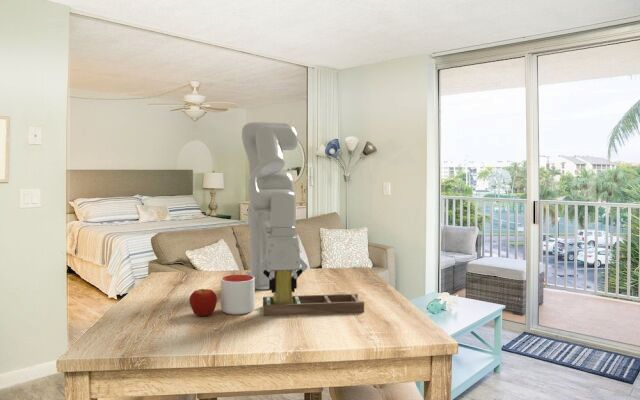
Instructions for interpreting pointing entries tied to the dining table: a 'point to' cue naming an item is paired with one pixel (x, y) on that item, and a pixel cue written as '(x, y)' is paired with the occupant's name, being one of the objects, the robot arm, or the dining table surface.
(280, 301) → the vase
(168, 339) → the dining table surface
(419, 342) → the dining table surface
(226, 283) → the cup
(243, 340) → the dining table surface
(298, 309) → the wooden compartment tray
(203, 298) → the apple
